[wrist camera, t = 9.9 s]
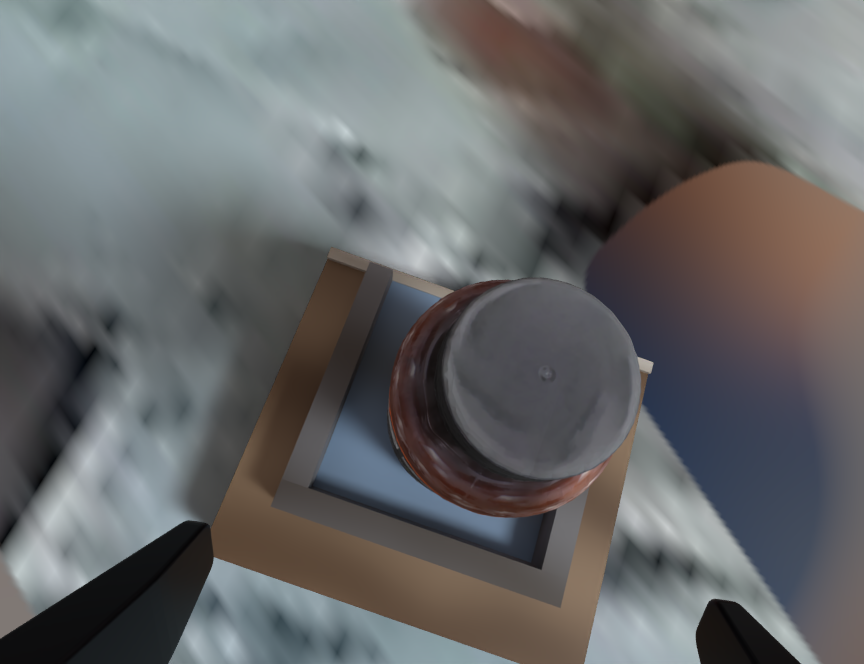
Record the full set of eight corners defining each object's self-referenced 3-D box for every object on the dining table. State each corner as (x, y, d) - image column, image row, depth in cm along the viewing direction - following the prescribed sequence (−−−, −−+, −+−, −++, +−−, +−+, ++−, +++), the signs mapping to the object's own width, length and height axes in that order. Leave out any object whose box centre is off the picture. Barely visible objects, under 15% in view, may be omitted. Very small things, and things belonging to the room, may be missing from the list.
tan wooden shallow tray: (556, 658, 21) (596, 703, 17) (221, 541, 21) (185, 560, 17) (623, 372, 24) (669, 357, 21) (336, 269, 24) (328, 234, 20)
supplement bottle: (543, 373, 21) (718, 283, 10) (508, 514, 20) (673, 586, 9) (410, 330, 21) (445, 192, 10) (365, 469, 19) (348, 484, 9)
